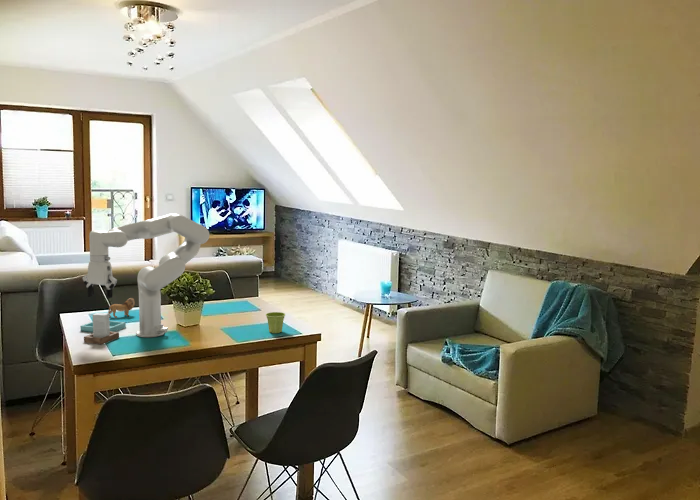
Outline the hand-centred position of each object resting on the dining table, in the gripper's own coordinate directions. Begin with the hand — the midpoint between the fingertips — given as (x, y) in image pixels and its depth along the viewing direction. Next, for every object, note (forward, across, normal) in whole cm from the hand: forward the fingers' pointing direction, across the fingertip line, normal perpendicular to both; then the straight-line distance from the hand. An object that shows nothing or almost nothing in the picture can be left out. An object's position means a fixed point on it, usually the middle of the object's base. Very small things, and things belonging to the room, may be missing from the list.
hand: (100, 297), depth 265 cm
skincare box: (+20, 0, 0) cm, 20 cm away
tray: (+20, +11, -15) cm, 27 cm away
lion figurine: (+20, +19, -40) cm, 48 cm away
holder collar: (+20, 0, 0) cm, 20 cm away
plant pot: (+19, -66, -41) cm, 80 cm away
